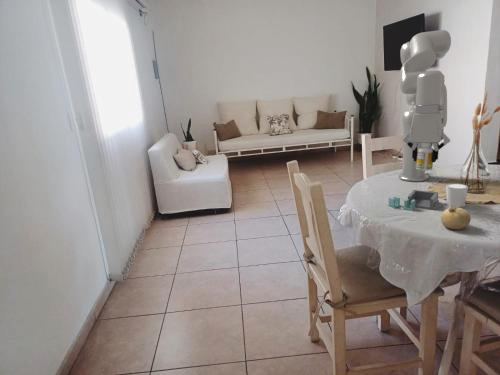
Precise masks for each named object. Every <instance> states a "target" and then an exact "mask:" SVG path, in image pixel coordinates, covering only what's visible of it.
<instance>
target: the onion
mask: <svg viewBox="0 0 500 375" xmlns="http://www.w3.org/2000/svg"><path fill="white" fill-rule="evenodd" d="M440 221H441V224H442V226H444V227H446V228H448V229H451V230H464V229H466V228H467V227H468V226H469V225H470V223H471V215H470V213H469V212H468V211H467V210H465V209H464V208H462V207H453V206H448V208H446V209H445V210H443V212H442V213H441V216H440Z"/></svg>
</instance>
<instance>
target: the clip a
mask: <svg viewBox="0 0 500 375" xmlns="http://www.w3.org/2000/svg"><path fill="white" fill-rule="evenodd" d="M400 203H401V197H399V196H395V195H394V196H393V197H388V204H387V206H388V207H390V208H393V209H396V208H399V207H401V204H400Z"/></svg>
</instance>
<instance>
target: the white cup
mask: <svg viewBox="0 0 500 375" xmlns="http://www.w3.org/2000/svg"><path fill="white" fill-rule="evenodd" d="M445 187H446V189H445V192H446V195H445V197H446V205H447V206H448V207H451V206H453V207H457V208H462V207H465V205H466V199H467V196H468V195H467V194H468V189H469V186H468V185H466V184H463V183H447V184H446V186H445Z"/></svg>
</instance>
